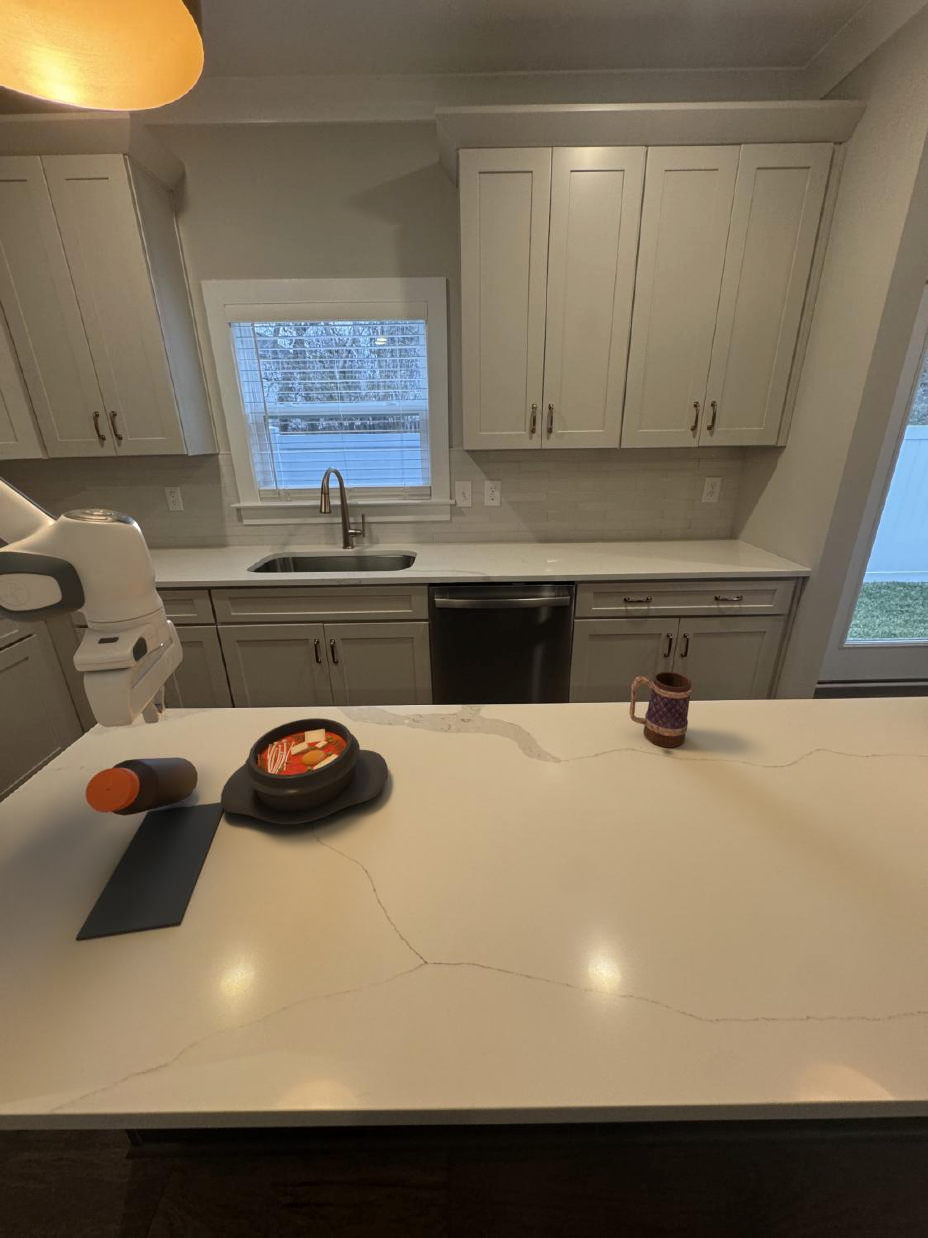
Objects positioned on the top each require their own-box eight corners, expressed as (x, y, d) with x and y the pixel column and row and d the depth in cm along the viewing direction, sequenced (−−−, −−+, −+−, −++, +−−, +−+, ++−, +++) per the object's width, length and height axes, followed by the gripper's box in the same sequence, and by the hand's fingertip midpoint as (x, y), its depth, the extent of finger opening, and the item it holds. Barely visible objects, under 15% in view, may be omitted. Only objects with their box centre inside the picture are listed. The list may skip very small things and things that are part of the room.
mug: (678, 726, 94) (688, 668, 89) (690, 749, 87) (700, 688, 83) (621, 723, 95) (628, 666, 90) (628, 746, 88) (636, 686, 84)
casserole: (204, 843, 70) (190, 794, 67) (244, 758, 87) (234, 717, 84) (386, 826, 72) (382, 778, 69) (390, 747, 89) (386, 706, 86)
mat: (76, 940, 57) (75, 938, 57) (148, 813, 75) (148, 811, 75) (180, 924, 59) (179, 922, 58) (226, 803, 77) (226, 801, 77)
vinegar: (147, 764, 78) (72, 770, 59) (194, 751, 79) (135, 752, 60) (155, 809, 77) (79, 829, 58) (202, 795, 78) (144, 810, 59)
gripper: (138, 606, 78) (160, 685, 83) (64, 666, 59) (98, 763, 64) (182, 603, 78) (201, 681, 84) (123, 661, 60) (151, 758, 65)
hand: (156, 718), depth 74 cm, fingers closed
